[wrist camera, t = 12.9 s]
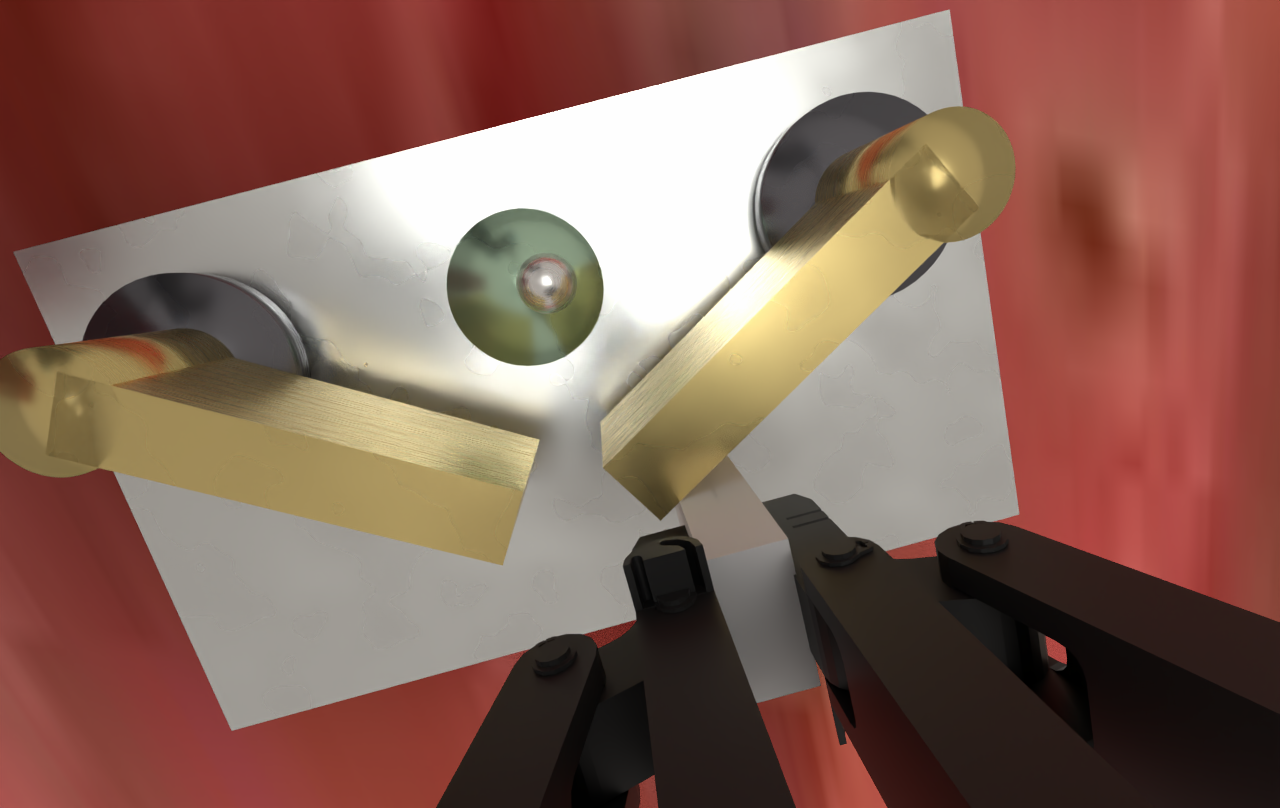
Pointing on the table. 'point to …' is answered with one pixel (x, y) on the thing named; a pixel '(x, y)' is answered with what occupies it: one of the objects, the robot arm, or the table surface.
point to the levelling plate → (546, 364)
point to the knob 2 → (810, 275)
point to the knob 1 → (254, 421)
